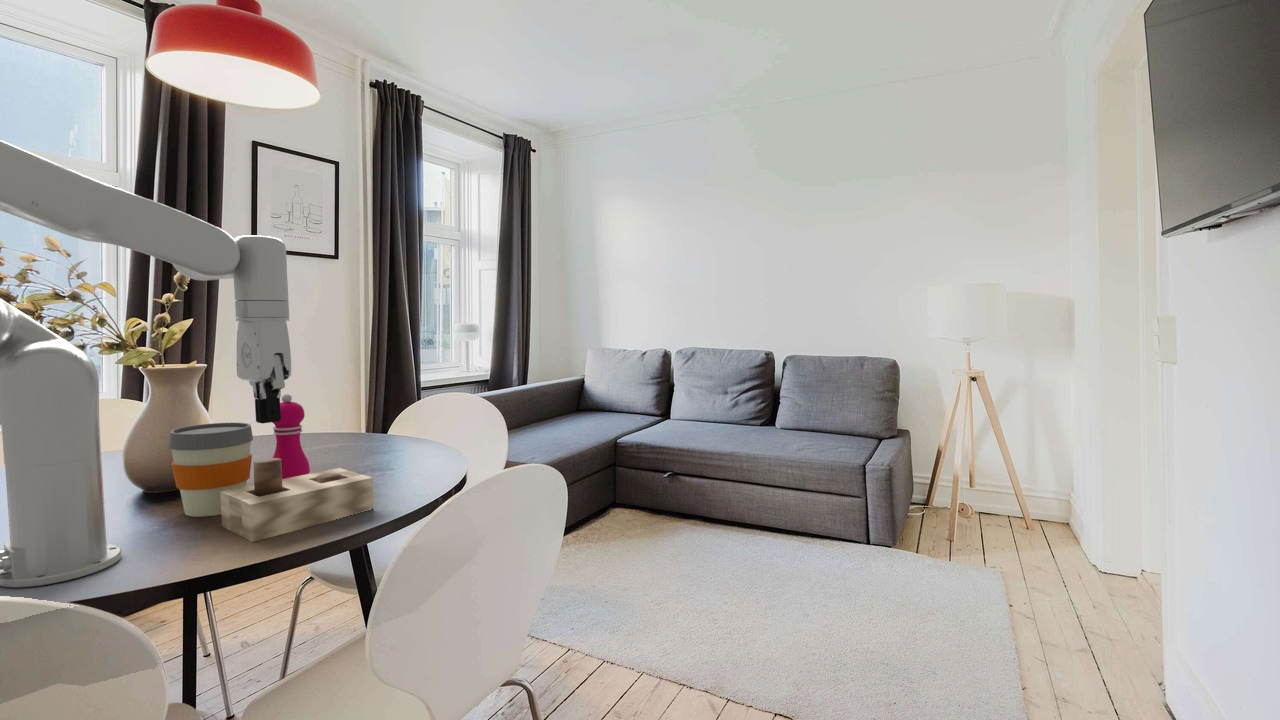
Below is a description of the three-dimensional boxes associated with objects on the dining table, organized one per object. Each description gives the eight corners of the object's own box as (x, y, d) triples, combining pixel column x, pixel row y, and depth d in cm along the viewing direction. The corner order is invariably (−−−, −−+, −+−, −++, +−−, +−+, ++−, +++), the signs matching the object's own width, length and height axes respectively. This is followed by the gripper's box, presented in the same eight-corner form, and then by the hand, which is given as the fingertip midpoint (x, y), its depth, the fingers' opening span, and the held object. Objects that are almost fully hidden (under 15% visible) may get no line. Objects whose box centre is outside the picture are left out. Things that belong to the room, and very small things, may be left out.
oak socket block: (252, 542, 93) (250, 504, 93) (221, 526, 100) (220, 491, 100) (373, 509, 109) (372, 477, 109) (340, 498, 116) (339, 467, 116)
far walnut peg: (323, 513, 106) (322, 480, 106) (313, 509, 108) (311, 476, 108) (346, 507, 109) (345, 475, 109) (335, 503, 112) (334, 472, 111)
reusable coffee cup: (271, 500, 115) (268, 423, 114) (216, 521, 103) (212, 435, 102) (214, 497, 117) (211, 421, 116) (153, 518, 105) (148, 433, 104)
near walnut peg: (260, 500, 98) (259, 464, 97) (250, 496, 100) (249, 461, 100) (286, 495, 101) (285, 460, 101) (276, 491, 103) (275, 457, 103)
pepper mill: (291, 498, 116) (288, 396, 115) (260, 496, 118) (256, 395, 116) (318, 488, 123) (315, 392, 122) (288, 486, 125) (285, 391, 123)
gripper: (219, 312, 100) (225, 420, 101) (257, 311, 91) (263, 430, 93) (267, 312, 106) (273, 414, 107) (308, 311, 97) (313, 423, 99)
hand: (268, 421), depth 100 cm, fingers closed
